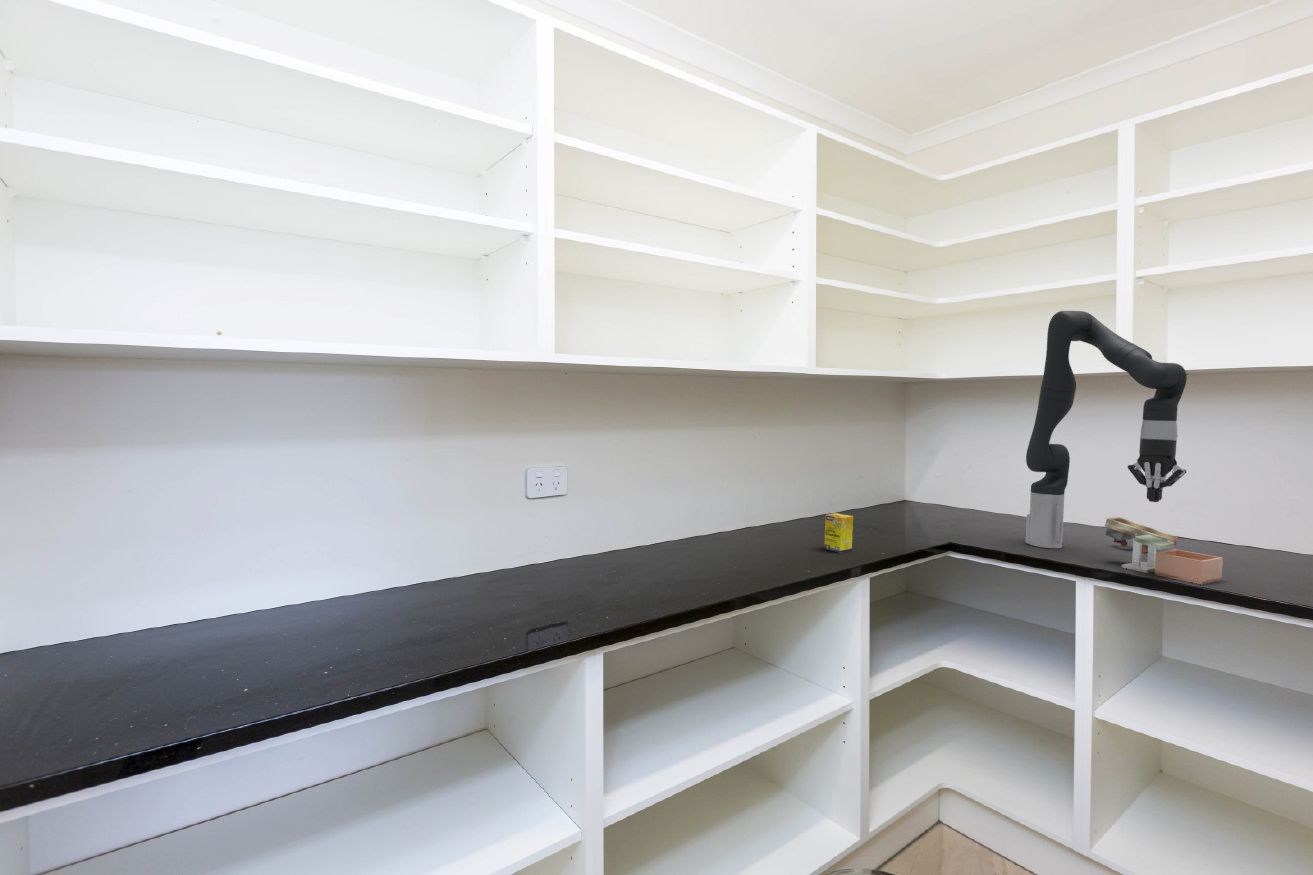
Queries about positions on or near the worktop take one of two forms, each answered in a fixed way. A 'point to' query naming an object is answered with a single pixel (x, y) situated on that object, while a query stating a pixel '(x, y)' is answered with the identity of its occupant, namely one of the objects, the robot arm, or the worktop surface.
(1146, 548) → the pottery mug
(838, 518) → the supplement box
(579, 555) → the worktop surface
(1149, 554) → the chute stand
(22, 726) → the worktop surface
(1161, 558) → the pink storage bin
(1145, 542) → the chute
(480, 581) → the worktop surface
